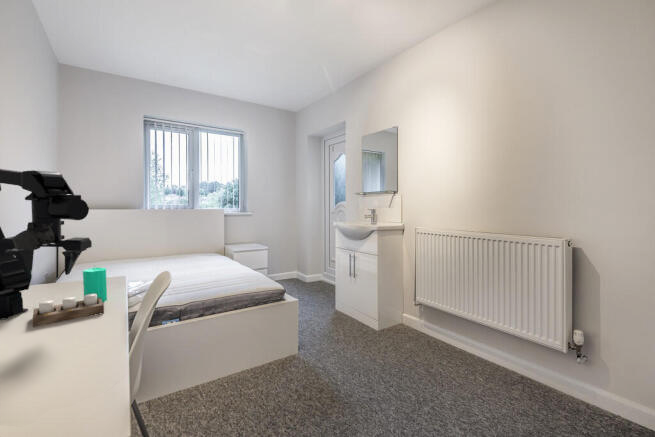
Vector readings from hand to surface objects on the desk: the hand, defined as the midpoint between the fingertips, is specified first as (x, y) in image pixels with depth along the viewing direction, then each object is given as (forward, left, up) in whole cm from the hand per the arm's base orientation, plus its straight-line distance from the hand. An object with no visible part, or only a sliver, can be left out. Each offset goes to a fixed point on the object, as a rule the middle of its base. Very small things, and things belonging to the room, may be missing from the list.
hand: (48, 274), depth 82 cm
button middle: (+3, +3, -11) cm, 12 cm away
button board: (+3, +3, -13) cm, 13 cm away
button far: (+6, +7, -11) cm, 14 cm away
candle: (+1, +15, -13) cm, 20 cm away
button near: (-1, 0, -11) cm, 11 cm away
